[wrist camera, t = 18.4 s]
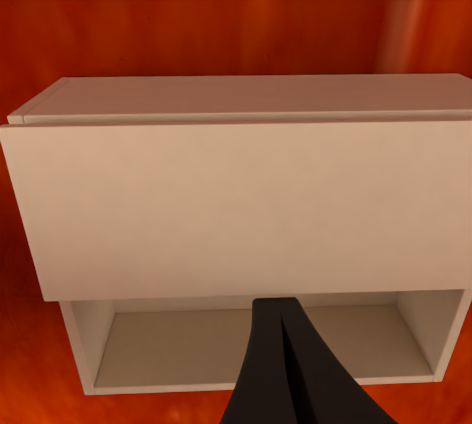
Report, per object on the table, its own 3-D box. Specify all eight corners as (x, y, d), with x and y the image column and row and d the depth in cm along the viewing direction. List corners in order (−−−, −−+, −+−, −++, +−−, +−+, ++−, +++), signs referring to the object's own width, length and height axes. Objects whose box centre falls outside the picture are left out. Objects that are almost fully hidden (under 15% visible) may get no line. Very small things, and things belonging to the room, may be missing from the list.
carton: (61, 76, 14) (5, 115, 10) (458, 73, 15) (542, 108, 11) (109, 313, 20) (84, 395, 16) (398, 304, 20) (441, 381, 16)
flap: (1, 124, 10) (-4, 127, 10) (550, 116, 11) (558, 119, 10) (47, 295, 13) (44, 302, 12) (492, 282, 13) (498, 288, 13)
